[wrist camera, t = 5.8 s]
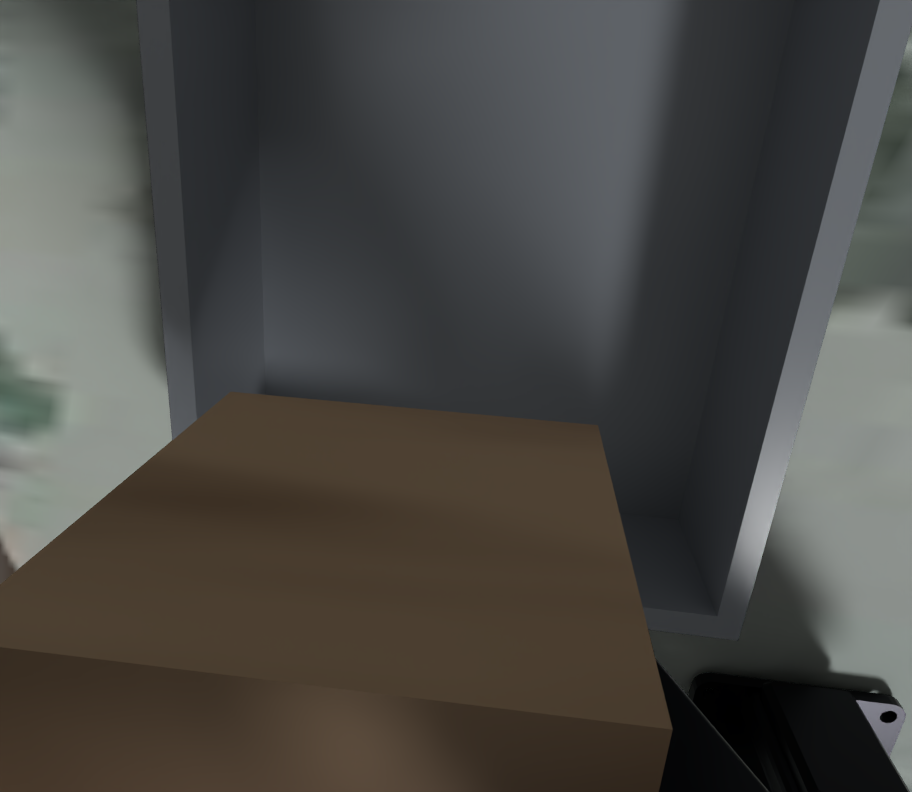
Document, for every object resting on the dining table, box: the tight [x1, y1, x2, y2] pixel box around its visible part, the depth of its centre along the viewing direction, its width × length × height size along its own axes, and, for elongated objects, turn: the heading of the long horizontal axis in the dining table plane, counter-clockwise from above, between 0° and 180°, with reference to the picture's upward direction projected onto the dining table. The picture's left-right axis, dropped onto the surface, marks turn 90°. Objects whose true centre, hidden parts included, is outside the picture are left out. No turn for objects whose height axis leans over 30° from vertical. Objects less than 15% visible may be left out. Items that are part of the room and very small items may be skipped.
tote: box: [136, 0, 912, 641], centre depth 15 cm, size 17×13×5 cm
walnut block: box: [0, 392, 673, 792], centre depth 8 cm, size 5×5×5 cm
